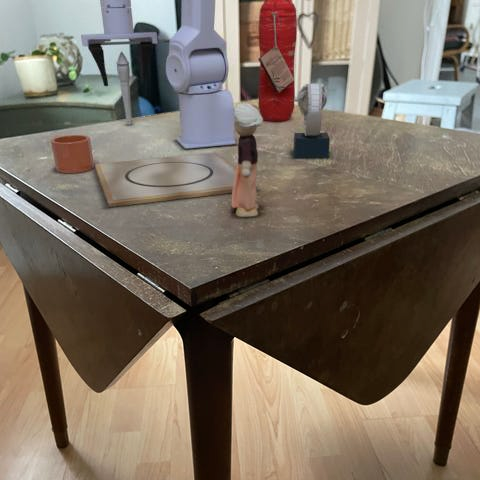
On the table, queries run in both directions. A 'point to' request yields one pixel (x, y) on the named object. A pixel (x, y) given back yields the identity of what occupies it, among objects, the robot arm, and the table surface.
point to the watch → (311, 123)
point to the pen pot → (72, 153)
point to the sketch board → (165, 178)
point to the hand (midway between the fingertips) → (125, 84)
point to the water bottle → (277, 59)
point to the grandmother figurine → (246, 161)
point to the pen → (125, 84)
